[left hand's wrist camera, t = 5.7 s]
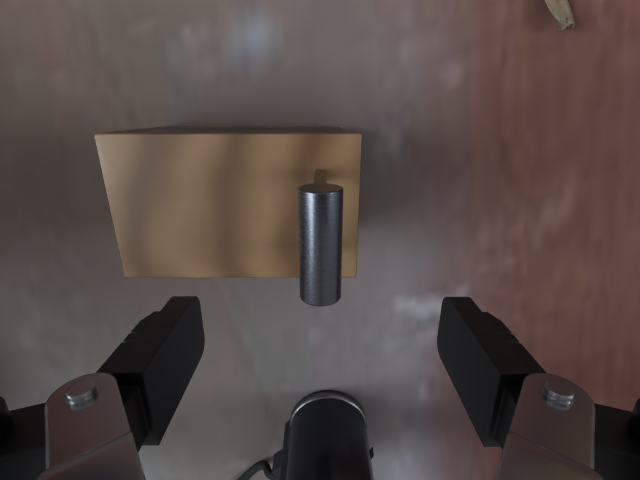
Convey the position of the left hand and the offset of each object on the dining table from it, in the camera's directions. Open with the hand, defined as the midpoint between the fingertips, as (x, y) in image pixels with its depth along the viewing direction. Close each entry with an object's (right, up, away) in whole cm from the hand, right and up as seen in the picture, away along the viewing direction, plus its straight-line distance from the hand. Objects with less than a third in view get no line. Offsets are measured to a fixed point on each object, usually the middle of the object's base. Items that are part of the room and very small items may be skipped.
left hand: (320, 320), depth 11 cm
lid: (-6, +5, +13) cm, 15 cm away
